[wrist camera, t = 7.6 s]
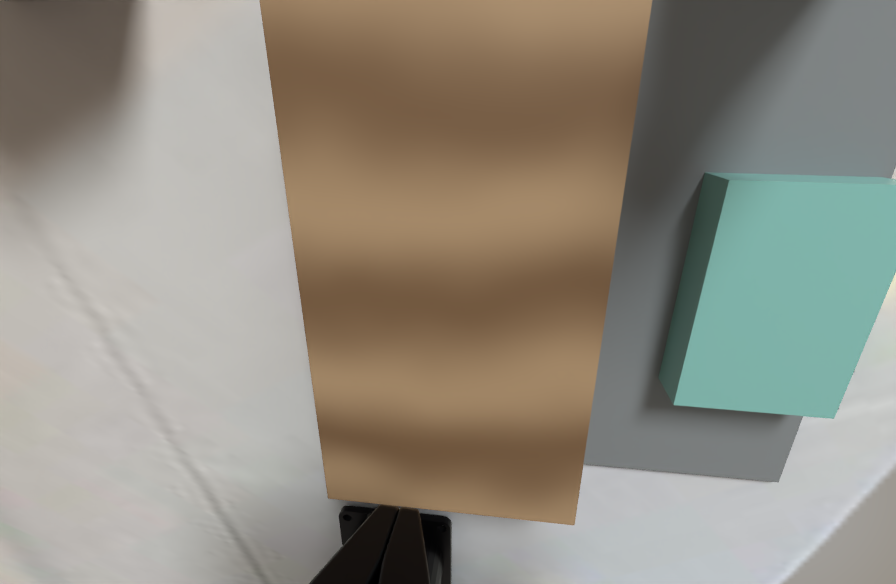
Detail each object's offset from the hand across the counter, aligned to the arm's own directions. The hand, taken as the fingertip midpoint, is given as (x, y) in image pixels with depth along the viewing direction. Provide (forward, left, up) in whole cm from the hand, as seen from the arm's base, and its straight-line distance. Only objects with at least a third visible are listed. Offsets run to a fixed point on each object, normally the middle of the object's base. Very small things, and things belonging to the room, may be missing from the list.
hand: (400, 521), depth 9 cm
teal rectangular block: (+1, -12, -10) cm, 15 cm away
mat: (+2, -10, -12) cm, 16 cm away
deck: (+2, 0, -12) cm, 12 cm away
